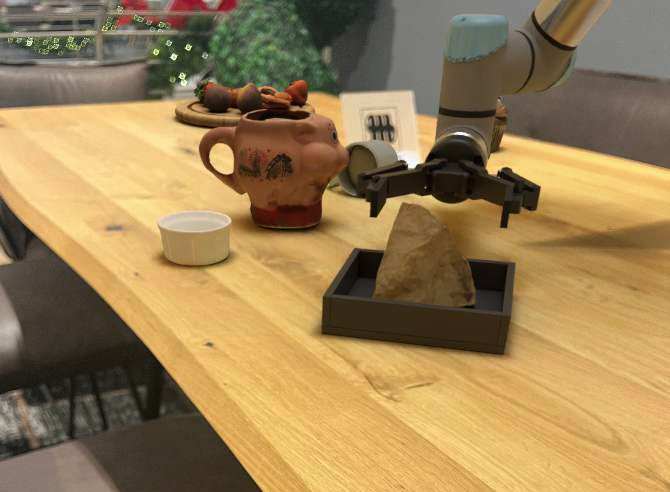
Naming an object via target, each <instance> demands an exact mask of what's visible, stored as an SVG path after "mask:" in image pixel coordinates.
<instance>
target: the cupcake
mask: <svg viewBox="0 0 670 492" xmlns="http://www.w3.org/2000/svg"><path fill="white" fill-rule="evenodd" d="M502 97H503V96H498V102H497V109H496V115H495V121H494V128H493V135H492V149H491V153H494V152H498V150H499V148H500V145H501V143H502V140H503V137H504V133H505V132H506V128H507V126H508V121H509V119H508V118H507V116H508V113H509V111H508V108H507V106H506V105H505V104H504V103H502V99H503V98H502Z"/></svg>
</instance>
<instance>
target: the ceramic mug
mask: <svg viewBox="0 0 670 492" xmlns="http://www.w3.org/2000/svg"><path fill="white" fill-rule="evenodd" d="M344 147H345V148H346V149H347V150H348V152H349V162H348V165H347V166H346V168H345V169H344V170H343V171H342V172H340V173H339V174H338V175H337V176H335V177H334V178H333V179H332V180H331V181H330V182H329V184H328V186H329V187H330V188H331V187H336V186H338V185H339V186H340V188H341V189H342V190H343V191H344V192H345V193H346V194H348V195H349V196H352V197H357V196H356V190H357V174H358V173H361V172H365V171H369V170H372V169H376V168H379V167H383V166H387V165H390V164H393V163H395V162H396V161H399V157H398V154H397V152H396V149H395V148H394V147H393V146H392V145H391V143H389V142H387V141H385V140H381V139H370V140H363V141H362V140H361V141H354V142H351V143H348V144H347V145H346V146H344Z"/></svg>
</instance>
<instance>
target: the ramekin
mask: <svg viewBox="0 0 670 492" xmlns="http://www.w3.org/2000/svg"><path fill="white" fill-rule="evenodd" d="M231 227H232V218H231V216H229V215H227V214H225V213H222V212H219V211H214V210H213V211H211V210H184V211H177V212H173V213H169V214H165V215H164V216H162V217H160V218H159V219H158V220H157V228H158V229H159V233H160V238H161V244H162V251H163V254H164V257H165V258H166V259H167V260H168V261H170V262H172V263H174V264H177V265H182V266H191V267H192V266H195V267H196V266H207V265H212V264H216V263H219V262H222V261H223V260H225V259H227V257H228V256H229V254H230V242H231V241H230V238H231V237H230V235H231Z"/></svg>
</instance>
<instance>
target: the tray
mask: <svg viewBox="0 0 670 492" xmlns="http://www.w3.org/2000/svg"><path fill="white" fill-rule="evenodd" d="M384 251H385V250H383V249H382V250H381V249H373V248H371V249H370V248H360V247H354V248H353V249H352V251H351V252H350V254H349V255H348V257H347V259H346V260H345V261H344V263H343V264H342V266H341V268H340V269H339V271H338V272H337V274H336V275H335V277H334V278H333V280H332V281H331V283H330V284H329V286H328V287H327V288H326V290H325V292H324V294H323V295H322V301H321V302H322V303H321V305H322V307H321V334H324V335H325V334H326V335H334V336H335V335H336V336H342V337H343V336H344V337H351V338H361V339H367V340H378V341H385V342H386V341H387V342H393V343H394V342H395V343H405V344H412V345H420V346H429V347H439V348H447V349H453V350H454V349H455V350H465V351H472V352H480V353H481V352H482V353H489V354H498V355H504V354H505V351H506V346H507V339H508V336H509V335H508V334H509V329H510V323H511V318H512V309H513V308H512V307H513V299H514V286H515V274H516V262H513V261H501V260H492V259H481V258H480V259H479V258H469V257H464V258H465V259H466V260H467V261H468V263H469V266H470V268H471V274H472V279H473V283H474V287H475V290H476V305H471V306H464V307H449V306H440V305H430V304H421V303H411V302H402V301H392V300H383V299H373V298H372V297H373V291H374V286H375V281H376V277H377V272H378V269H379V267H380V264H381V261H382V259H383V255H384Z"/></svg>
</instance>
